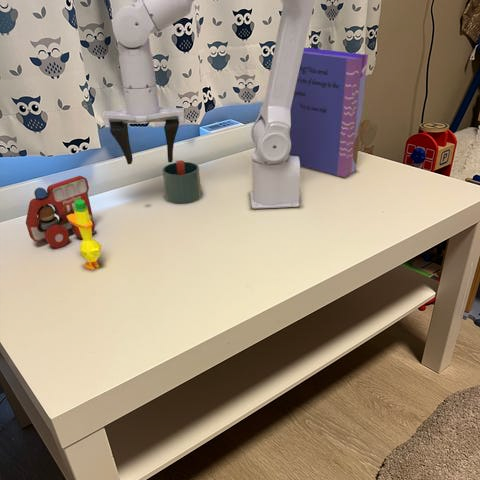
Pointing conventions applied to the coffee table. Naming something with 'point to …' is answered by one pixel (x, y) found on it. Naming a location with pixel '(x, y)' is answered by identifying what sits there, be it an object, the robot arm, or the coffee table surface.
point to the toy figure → (85, 234)
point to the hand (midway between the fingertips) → (150, 161)
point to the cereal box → (328, 111)
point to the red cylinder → (180, 167)
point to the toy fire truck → (57, 211)
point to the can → (182, 183)
